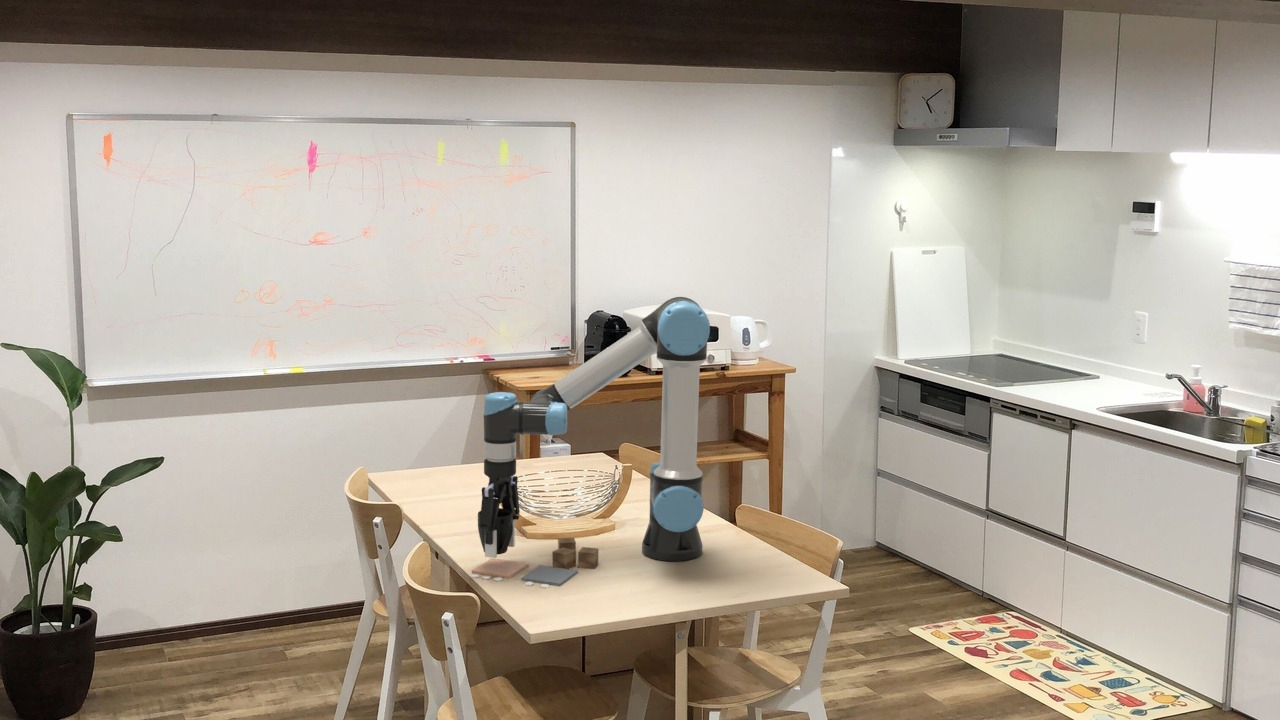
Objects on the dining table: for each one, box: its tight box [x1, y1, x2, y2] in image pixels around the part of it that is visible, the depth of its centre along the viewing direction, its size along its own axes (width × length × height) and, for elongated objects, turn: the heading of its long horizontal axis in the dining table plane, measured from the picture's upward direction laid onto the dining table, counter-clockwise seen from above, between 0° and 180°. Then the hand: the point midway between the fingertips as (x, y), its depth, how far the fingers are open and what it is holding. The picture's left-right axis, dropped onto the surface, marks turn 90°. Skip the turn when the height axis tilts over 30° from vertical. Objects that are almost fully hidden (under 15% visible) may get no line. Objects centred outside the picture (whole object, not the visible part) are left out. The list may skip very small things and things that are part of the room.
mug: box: [477, 507, 513, 556], centre depth 291 cm, size 8×12×10 cm
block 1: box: [557, 537, 577, 552], centre depth 304 cm, size 4×4×4 cm
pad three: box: [470, 557, 530, 582], centre depth 292 cm, size 10×13×1 cm
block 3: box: [577, 546, 599, 570], centre depth 297 cm, size 4×4×4 cm
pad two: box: [520, 564, 579, 589], centre depth 287 cm, size 10×13×1 cm
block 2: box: [551, 547, 577, 569], centre depth 296 cm, size 4×4×4 cm
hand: (499, 551), depth 293 cm, fingers closed on mug, 8 cm apart
